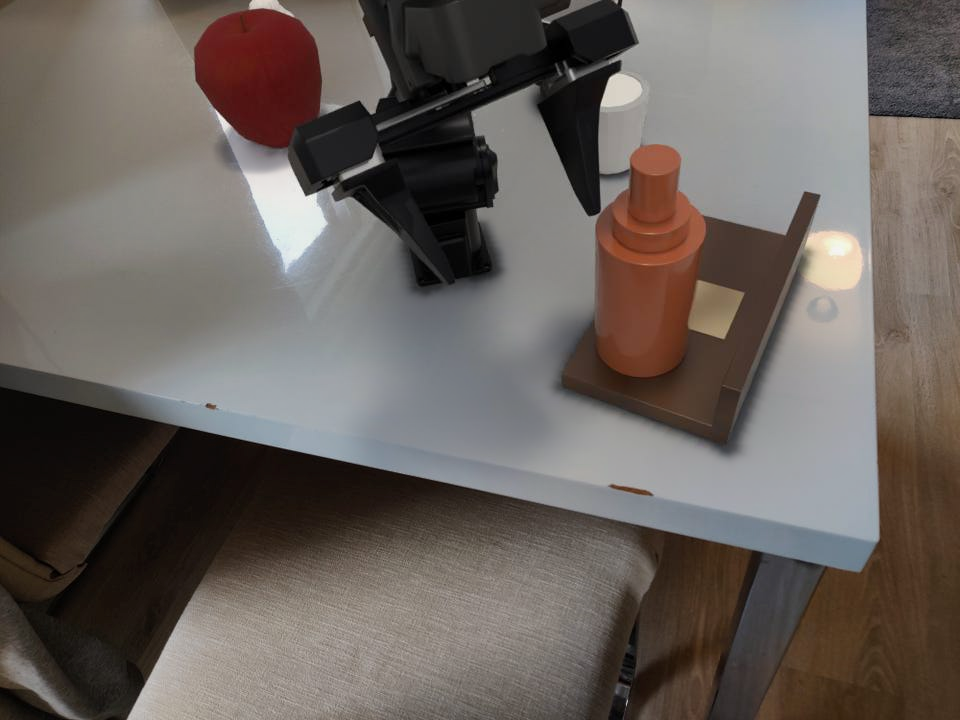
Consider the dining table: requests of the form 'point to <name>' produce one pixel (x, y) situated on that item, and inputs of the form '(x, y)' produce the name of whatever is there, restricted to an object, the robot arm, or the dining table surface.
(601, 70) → the robot arm
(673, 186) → the terracotta bottle
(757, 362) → the walnut shelf
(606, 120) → the shot glass
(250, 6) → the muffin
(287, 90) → the apple
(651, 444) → the dining table surface
